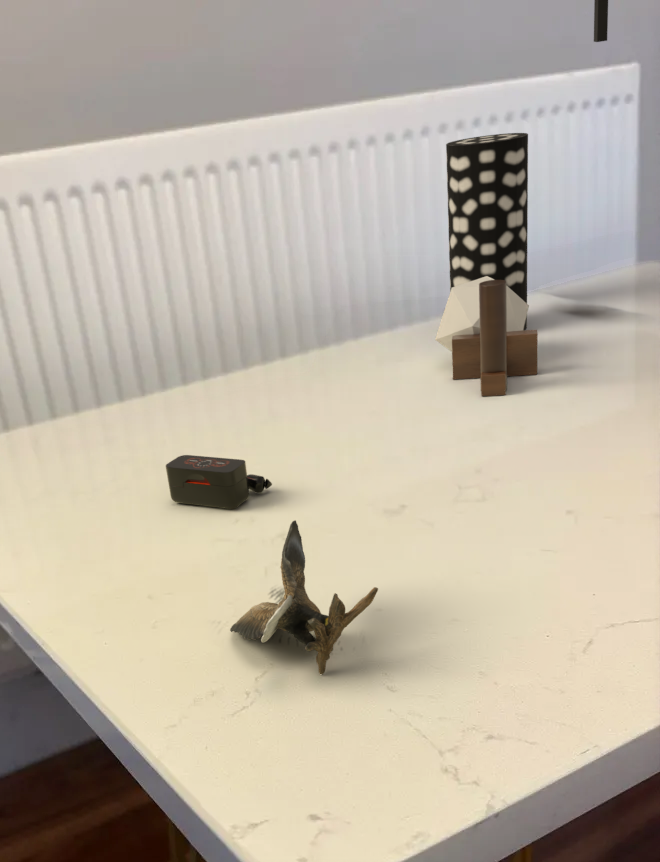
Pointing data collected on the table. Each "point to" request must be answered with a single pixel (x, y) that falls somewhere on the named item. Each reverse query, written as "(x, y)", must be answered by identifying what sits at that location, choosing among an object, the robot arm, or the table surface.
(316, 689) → the table surface
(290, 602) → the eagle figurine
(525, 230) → the spotted tube
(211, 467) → the wireless earbuds
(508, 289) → the die
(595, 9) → the robot arm
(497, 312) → the wooden block stack
